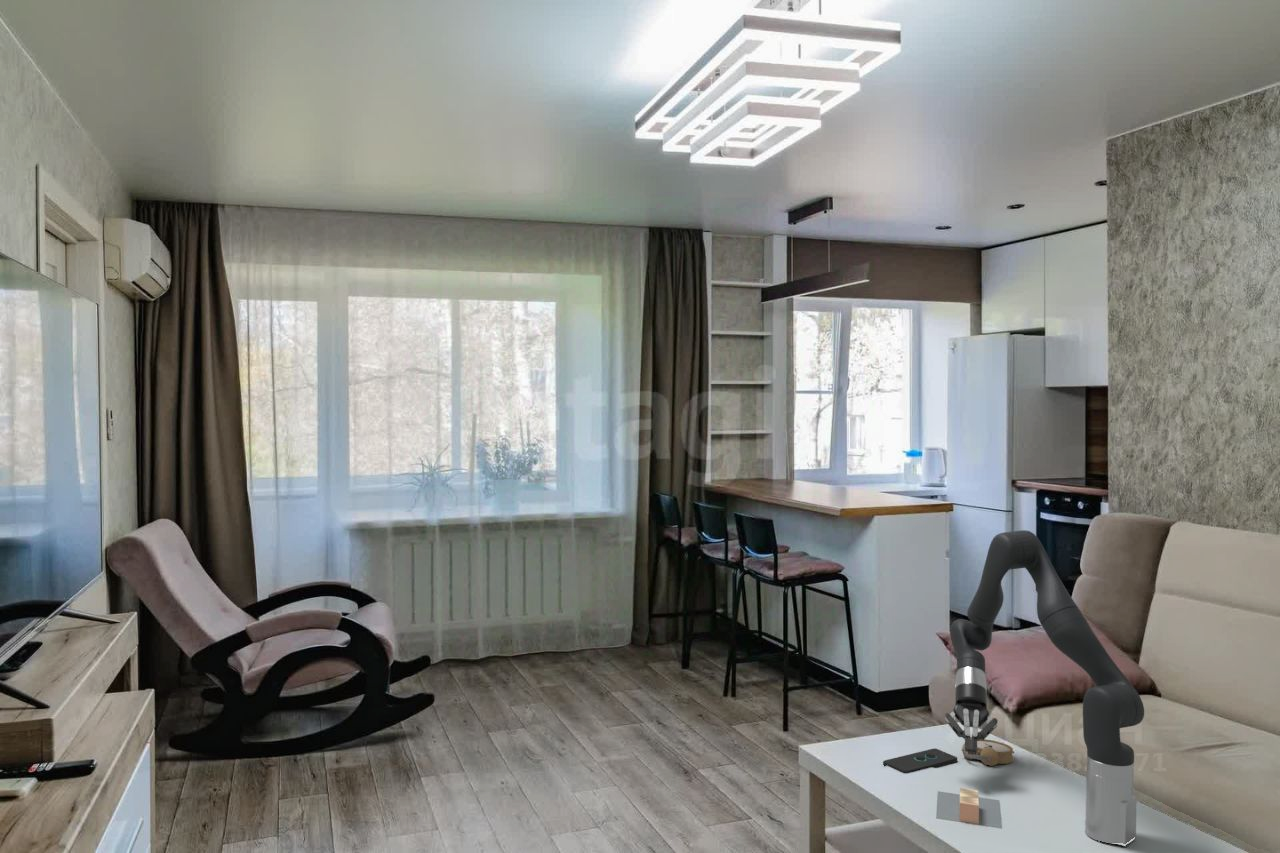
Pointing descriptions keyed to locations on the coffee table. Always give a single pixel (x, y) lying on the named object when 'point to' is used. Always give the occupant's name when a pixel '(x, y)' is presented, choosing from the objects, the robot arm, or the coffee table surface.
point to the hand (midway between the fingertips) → (971, 752)
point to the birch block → (969, 806)
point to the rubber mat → (951, 804)
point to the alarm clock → (991, 752)
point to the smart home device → (920, 761)
